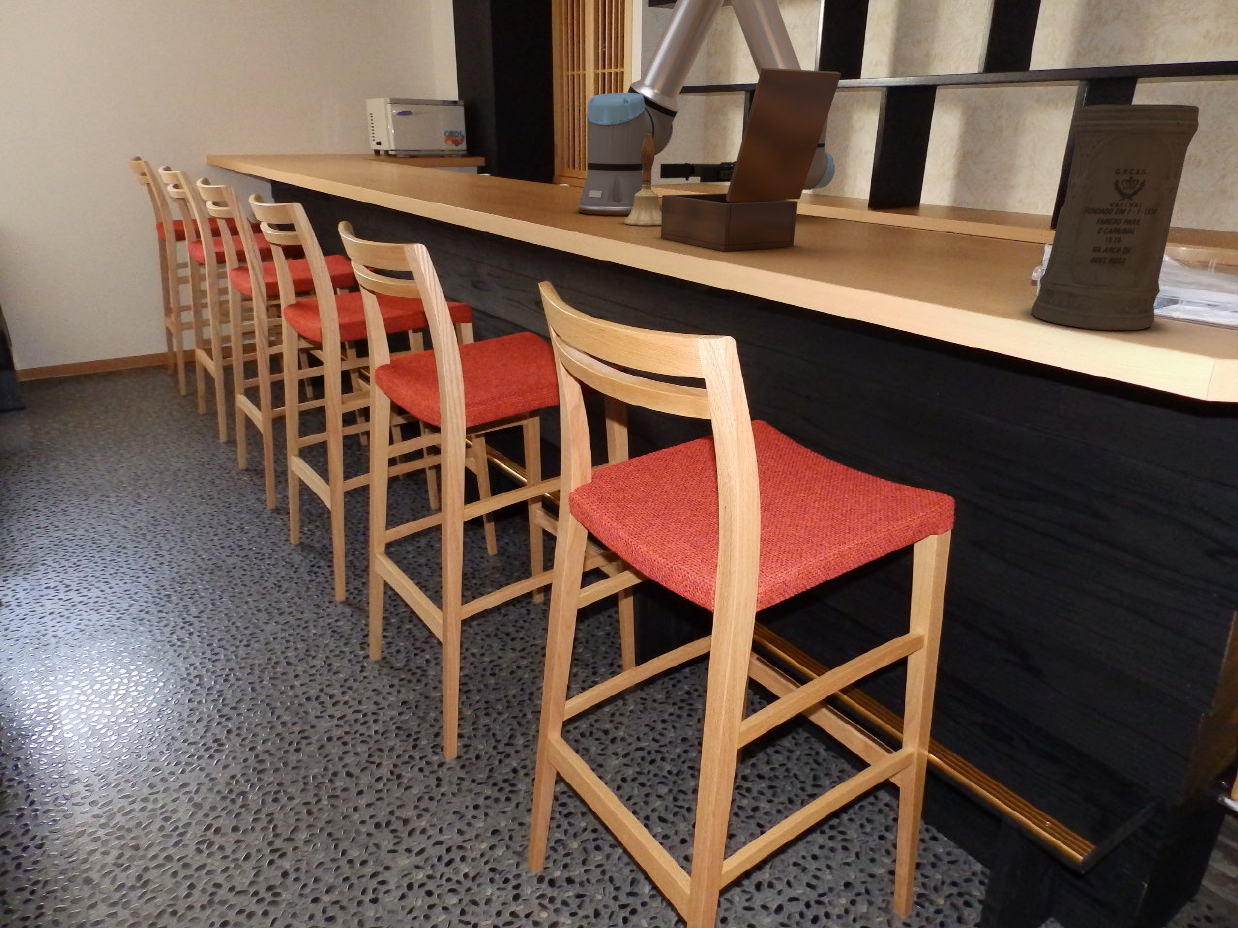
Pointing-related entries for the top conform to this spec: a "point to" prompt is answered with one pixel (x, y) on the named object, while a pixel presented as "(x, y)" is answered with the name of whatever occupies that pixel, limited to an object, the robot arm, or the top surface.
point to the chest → (728, 222)
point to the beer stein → (1116, 216)
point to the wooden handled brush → (646, 191)
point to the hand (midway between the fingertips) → (680, 173)
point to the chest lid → (782, 134)
